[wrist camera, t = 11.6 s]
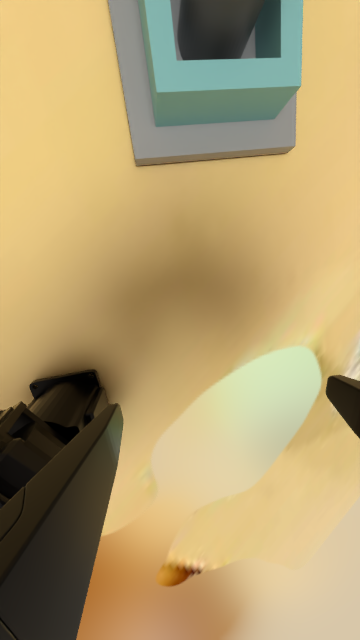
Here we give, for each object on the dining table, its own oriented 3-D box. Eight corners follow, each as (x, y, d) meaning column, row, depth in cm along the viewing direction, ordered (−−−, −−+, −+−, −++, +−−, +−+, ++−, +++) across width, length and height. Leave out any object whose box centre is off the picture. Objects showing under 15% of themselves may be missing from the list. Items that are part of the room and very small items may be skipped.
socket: (136, 165, 16) (131, 132, 12) (93, -84, 12) (68, -240, 9) (287, 152, 18) (325, 119, 14) (289, -74, 14) (341, -205, 10)
